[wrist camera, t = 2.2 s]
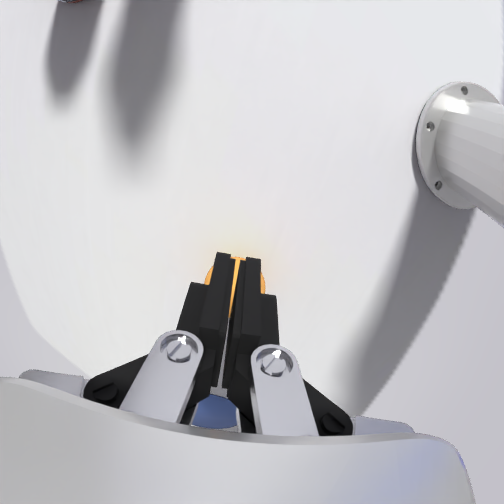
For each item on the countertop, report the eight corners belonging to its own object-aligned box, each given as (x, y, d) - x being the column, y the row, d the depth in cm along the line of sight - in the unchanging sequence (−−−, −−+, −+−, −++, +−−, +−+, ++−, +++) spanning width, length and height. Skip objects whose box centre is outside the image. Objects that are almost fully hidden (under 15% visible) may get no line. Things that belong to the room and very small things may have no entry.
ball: (270, 251, 28) (271, 287, 23) (259, 296, 30) (258, 334, 26) (212, 241, 27) (201, 275, 23) (206, 287, 30) (197, 324, 25)
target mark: (250, 400, 41) (250, 401, 41) (238, 431, 48) (238, 432, 48) (166, 385, 40) (166, 386, 40) (170, 420, 47) (170, 421, 47)
